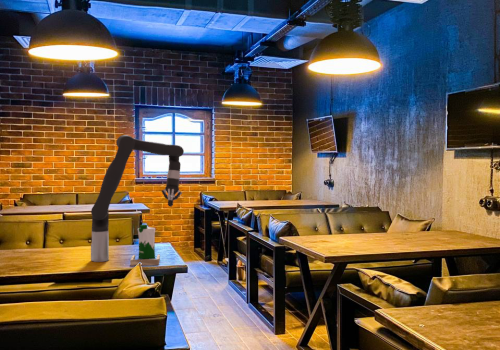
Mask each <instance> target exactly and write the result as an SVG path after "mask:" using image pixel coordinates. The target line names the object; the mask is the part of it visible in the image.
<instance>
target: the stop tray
mask: <svg viewBox="0 0 500 350" xmlns="http://www.w3.org/2000/svg"><path fill="white" fill-rule="evenodd" d="M160 261H161V255H160V254H159V253H158V254H157V256H156V258H153V259H136V255H135V254H133V255H132V256H131V257H130V259H129V262H130V263H129V265H130V266H132V267H133V266H134V265H137V264H138V263H139V262H141V263H142V265H141V266H159V265H160ZM137 266H138V265H137Z"/></svg>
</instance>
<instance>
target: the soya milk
mask: <svg viewBox="0 0 500 350" xmlns="http://www.w3.org/2000/svg"><path fill="white" fill-rule="evenodd" d="M137 233H138V257H137V259H138V260H142V259H156V248H155V243H156V241H155V240H156V239H155V238H156V237H155V234H156V227H149V226H148V224H140V225H139V227H138V228H137Z"/></svg>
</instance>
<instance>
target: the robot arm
mask: <svg viewBox="0 0 500 350" xmlns="http://www.w3.org/2000/svg"><path fill="white" fill-rule="evenodd" d="M116 146H117V151H116V153H115V156H114V158H113V159H112V161H111V162H110V164H109V165H108V167H107V170H106V172H105V174H104V177H103V179H102V184H101V186H100V190H99V193H98V196H97V199H96V201H95V203H94V205H93V206H92V208H91V210H90V213H91V219H92V220H91V244H90V261H92V262H95V263H99V262H108V261H109V257H110V256H109V253H110V251H109V243H110V242H109V227H110V226H109V225H110V221H109V216H110V215H109V212H110V211H109V207H110V205H111V201H112V198H113V196H114V195H115V193H116V191H117V189H118V187H119V185H120V182H121V181H122V177H123V174H124V172H125V170H126V166H127V163H128V160H129V158H130V156H131V155H132V152H133V151H140V152H145V153H149V154H154V155H160V156H168V162H169V163H168V170H167V175H166V176H167V177H166V185H165V189H163V190H161V193H162V195H163V197H164V198H165V199H166V200H167V206H168V207H171V208H172V207H173V206H174V201H176V200H177V199H178V198H179V197H180V196H181V195H182V194H183V192H182V191H180V188H179V185H180V178H181V177H180V176H181V162H180V157H182V156H183V155H184V148H183V147H182V146H181V145H177V144H169V143H168V144H166V143H162V142H157V141H156V142H155V141H147V140H143V139H142V140H140V139H137V138H134V137H132V136H130V135H127V134H123V135H120V136H118V138H116Z"/></svg>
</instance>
